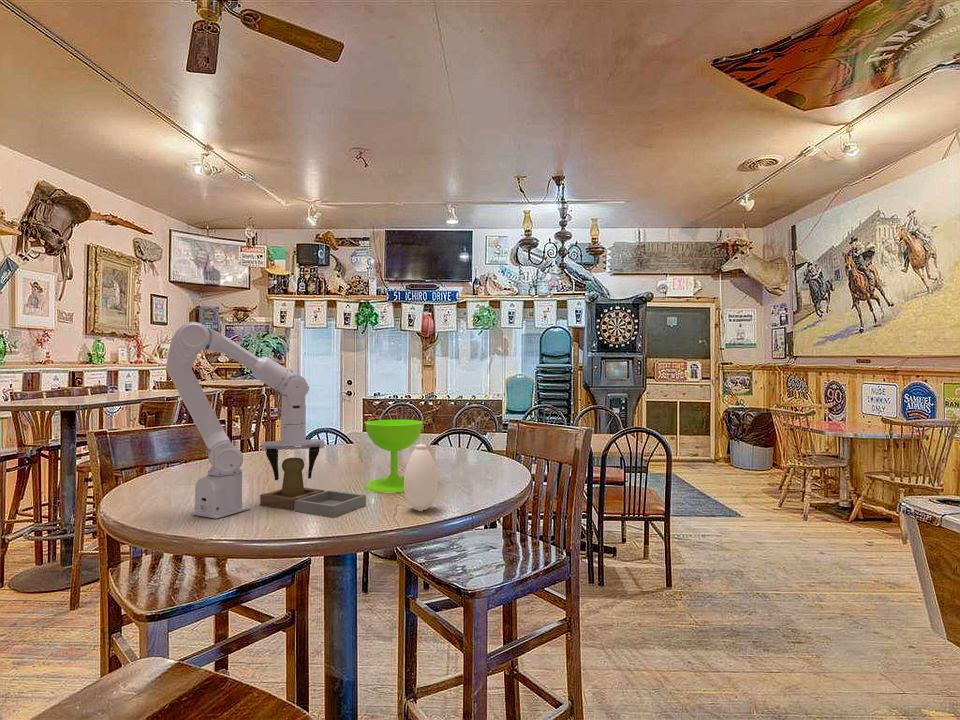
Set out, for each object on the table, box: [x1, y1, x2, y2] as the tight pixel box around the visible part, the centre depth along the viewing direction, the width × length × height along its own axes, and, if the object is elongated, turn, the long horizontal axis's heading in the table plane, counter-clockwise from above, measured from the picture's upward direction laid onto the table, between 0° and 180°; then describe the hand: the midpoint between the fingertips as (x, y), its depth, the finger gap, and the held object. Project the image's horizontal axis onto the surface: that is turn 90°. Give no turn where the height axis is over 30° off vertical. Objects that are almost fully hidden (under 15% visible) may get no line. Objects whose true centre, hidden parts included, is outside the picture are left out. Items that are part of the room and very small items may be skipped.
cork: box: [281, 457, 305, 497], centre depth 132 cm, size 6×6×11 cm
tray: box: [293, 489, 367, 518], centre depth 127 cm, size 12×12×2 cm
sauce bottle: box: [403, 433, 439, 512], centre depth 126 cm, size 8×8×18 cm
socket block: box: [259, 487, 325, 511], centre depth 132 cm, size 11×11×2 cm
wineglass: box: [364, 419, 424, 493], centre depth 150 cm, size 16×16×18 cm
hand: (293, 478), depth 132 cm, fingers open, 7 cm apart
